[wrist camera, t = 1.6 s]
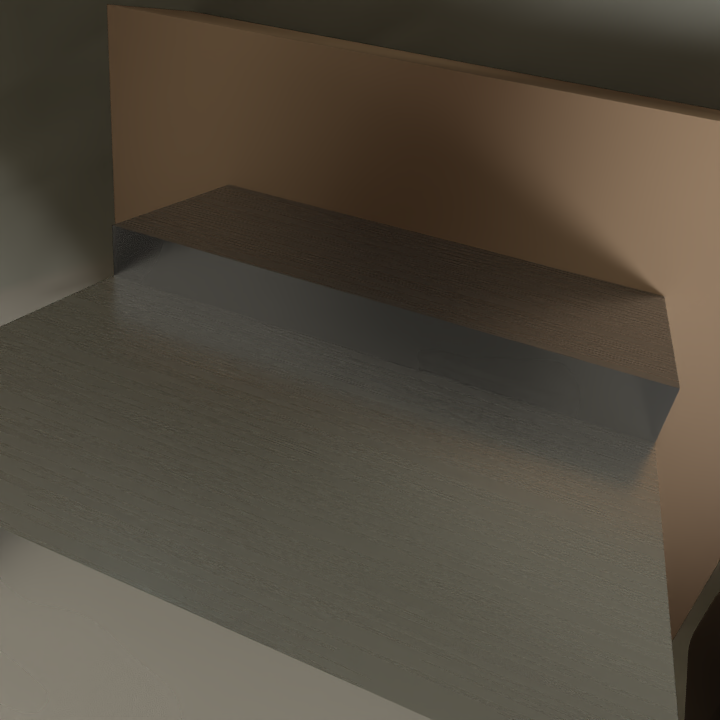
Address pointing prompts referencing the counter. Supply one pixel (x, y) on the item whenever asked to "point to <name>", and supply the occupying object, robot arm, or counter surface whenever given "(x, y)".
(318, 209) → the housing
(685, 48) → the counter surface
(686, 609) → the stand
